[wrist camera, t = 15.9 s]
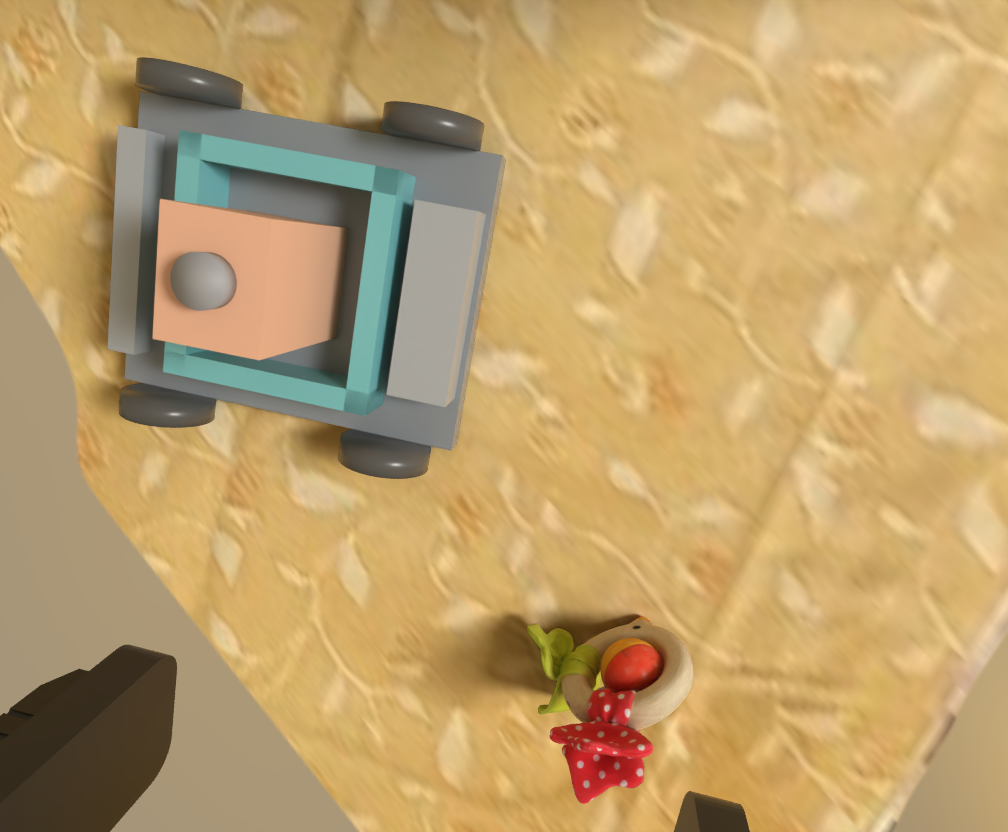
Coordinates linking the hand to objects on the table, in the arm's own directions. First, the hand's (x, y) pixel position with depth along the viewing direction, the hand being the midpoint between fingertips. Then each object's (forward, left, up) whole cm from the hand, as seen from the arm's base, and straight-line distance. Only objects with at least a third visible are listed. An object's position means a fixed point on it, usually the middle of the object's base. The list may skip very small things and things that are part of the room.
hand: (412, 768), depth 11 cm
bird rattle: (+14, +6, -30) cm, 34 cm away
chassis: (-4, -15, -30) cm, 34 cm away
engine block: (-4, -15, -29) cm, 33 cm away
